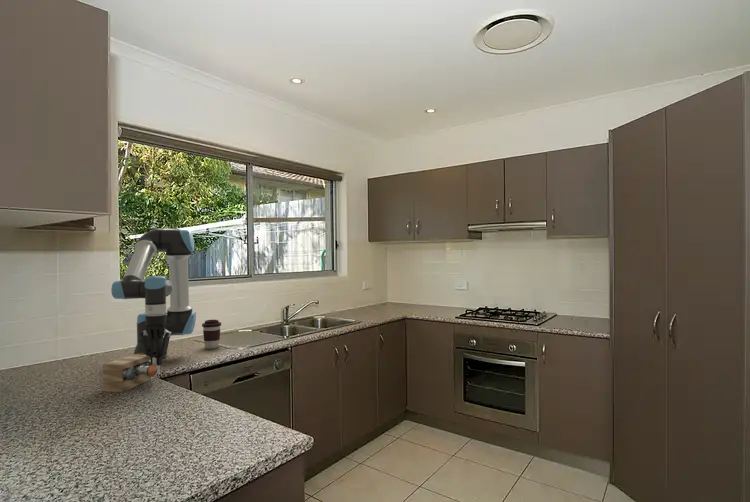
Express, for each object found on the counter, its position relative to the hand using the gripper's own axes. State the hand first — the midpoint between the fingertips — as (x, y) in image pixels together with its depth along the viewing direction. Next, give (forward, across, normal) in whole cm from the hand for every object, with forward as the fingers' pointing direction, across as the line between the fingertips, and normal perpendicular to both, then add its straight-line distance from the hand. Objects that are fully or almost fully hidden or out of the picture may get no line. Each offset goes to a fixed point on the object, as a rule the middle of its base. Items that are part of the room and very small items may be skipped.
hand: (156, 373), depth 168 cm
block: (+3, -8, -5) cm, 10 cm away
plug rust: (0, -4, -5) cm, 7 cm away
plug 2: (0, -9, 0) cm, 9 cm away
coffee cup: (+4, -12, +63) cm, 64 cm away
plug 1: (0, -9, -11) cm, 14 cm away
